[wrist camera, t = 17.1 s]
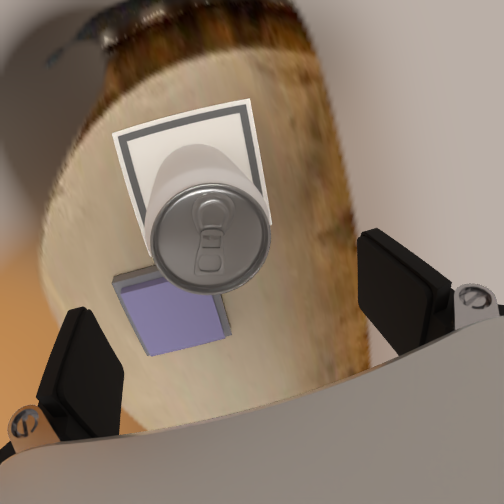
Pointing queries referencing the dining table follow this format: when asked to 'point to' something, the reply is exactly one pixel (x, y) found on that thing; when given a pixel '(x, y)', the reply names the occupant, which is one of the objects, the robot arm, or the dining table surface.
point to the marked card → (186, 133)
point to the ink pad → (169, 312)
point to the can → (206, 222)
